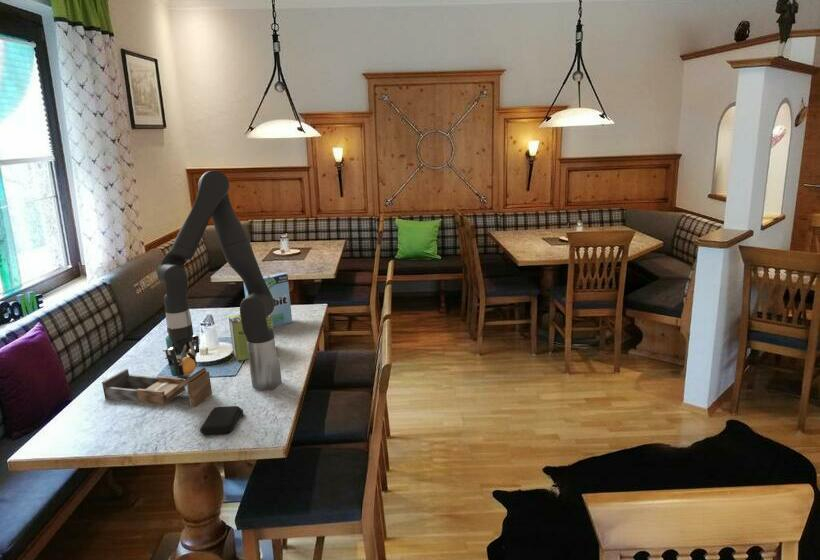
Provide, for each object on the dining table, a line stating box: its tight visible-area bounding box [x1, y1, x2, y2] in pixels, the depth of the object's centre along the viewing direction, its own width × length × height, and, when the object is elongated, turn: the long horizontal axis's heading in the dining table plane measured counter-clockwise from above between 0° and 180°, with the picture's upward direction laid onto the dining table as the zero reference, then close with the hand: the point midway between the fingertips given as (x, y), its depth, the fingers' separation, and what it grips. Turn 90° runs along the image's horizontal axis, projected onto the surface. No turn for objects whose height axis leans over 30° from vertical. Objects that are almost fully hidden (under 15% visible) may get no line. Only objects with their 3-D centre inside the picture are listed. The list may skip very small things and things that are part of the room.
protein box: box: [228, 314, 277, 362], centre depth 231 cm, size 10×15×16 cm
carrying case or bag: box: [199, 405, 244, 436], centre depth 177 cm, size 11×3×15 cm
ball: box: [178, 356, 197, 376], centre depth 192 cm, size 6×6×6 cm
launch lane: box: [101, 367, 213, 408], centre depth 197 cm, size 36×11×10 cm, turn 74°
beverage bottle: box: [165, 328, 188, 378], centre depth 210 cm, size 6×7×20 cm
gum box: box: [243, 272, 293, 328], centre depth 261 cm, size 20×5×23 cm, turn 127°
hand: (186, 371), depth 192 cm, fingers closed on ball, 6 cm apart
